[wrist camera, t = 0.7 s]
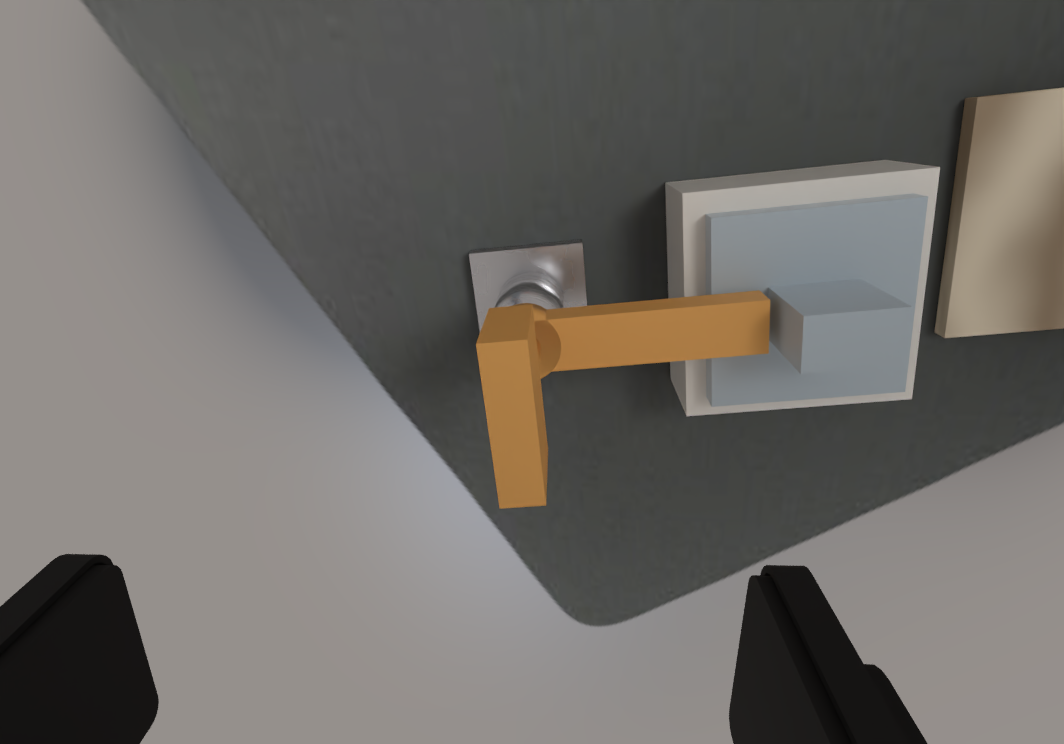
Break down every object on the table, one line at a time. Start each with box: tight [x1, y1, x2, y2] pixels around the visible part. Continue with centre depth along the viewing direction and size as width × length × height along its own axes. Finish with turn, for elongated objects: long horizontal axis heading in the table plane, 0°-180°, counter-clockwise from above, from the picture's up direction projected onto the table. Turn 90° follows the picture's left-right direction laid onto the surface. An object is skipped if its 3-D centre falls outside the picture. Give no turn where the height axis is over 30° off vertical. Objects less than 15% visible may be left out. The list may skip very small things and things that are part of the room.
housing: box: [665, 160, 940, 416], centre depth 32 cm, size 11×11×5 cm
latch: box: [476, 290, 770, 509], centre depth 25 cm, size 12×6×9 cm, turn 96°
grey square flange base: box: [469, 240, 587, 332], centre depth 33 cm, size 6×6×6 cm
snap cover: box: [705, 193, 928, 407], centre depth 27 cm, size 9×9×6 cm
